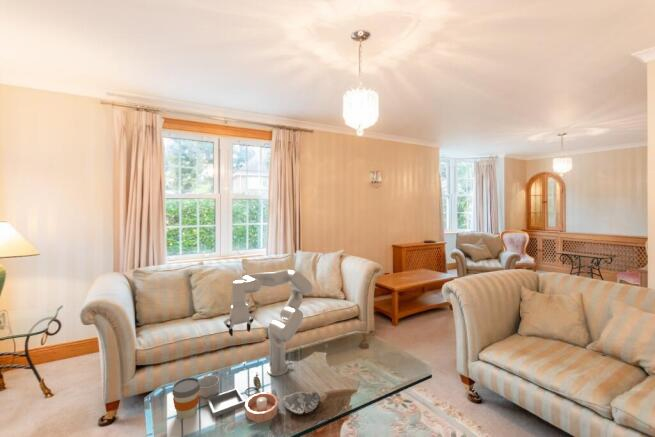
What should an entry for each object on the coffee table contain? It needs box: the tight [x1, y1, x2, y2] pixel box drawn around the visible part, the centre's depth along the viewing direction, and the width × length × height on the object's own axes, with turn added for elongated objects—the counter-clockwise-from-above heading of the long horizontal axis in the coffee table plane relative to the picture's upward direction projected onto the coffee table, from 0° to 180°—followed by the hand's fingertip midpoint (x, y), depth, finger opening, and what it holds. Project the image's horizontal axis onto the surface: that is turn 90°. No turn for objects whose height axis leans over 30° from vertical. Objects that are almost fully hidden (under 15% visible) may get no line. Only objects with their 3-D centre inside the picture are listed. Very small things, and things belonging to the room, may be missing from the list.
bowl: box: [244, 392, 279, 423], centre depth 162 cm, size 16×16×4 cm
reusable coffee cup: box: [171, 377, 200, 420], centre depth 159 cm, size 13×13×15 cm
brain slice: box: [282, 390, 321, 415], centre depth 166 cm, size 20×17×3 cm
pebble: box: [257, 397, 267, 412], centre depth 162 cm, size 5×5×5 cm
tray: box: [206, 387, 246, 418], centre depth 166 cm, size 16×13×3 cm
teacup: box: [199, 374, 220, 399], centre depth 175 cm, size 14×11×8 cm
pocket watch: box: [244, 372, 262, 396], centre depth 177 cm, size 8×8×10 cm
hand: (239, 332), depth 177 cm, fingers open, 9 cm apart
